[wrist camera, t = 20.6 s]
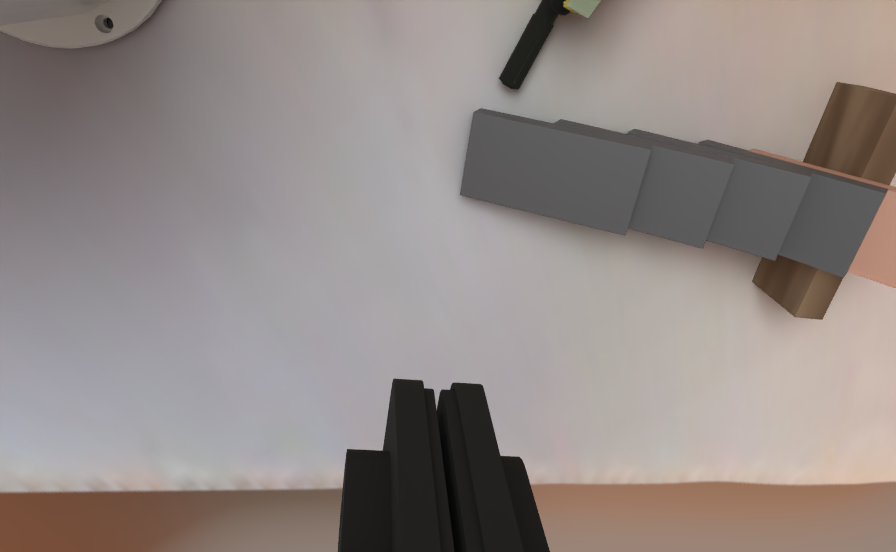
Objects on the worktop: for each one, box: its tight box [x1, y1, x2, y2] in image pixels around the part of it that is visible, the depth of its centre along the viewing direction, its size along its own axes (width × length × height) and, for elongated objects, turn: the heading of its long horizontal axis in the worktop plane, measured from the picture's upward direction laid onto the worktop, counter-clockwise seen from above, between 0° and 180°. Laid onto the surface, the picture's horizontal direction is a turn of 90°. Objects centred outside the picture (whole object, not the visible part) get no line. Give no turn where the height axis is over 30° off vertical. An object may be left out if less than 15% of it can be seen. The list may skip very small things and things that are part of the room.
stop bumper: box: [752, 82, 896, 320], centre depth 38 cm, size 2×14×5 cm, turn 171°
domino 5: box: [750, 149, 896, 288], centre depth 36 cm, size 2×5×10 cm
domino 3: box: [628, 129, 811, 261], centre depth 36 cm, size 2×5×10 cm
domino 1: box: [460, 108, 651, 235], centre depth 35 cm, size 2×5×10 cm
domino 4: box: [699, 140, 888, 278], centre depth 36 cm, size 2×5×10 cm
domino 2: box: [555, 119, 734, 248], centre depth 35 cm, size 2×5×10 cm
